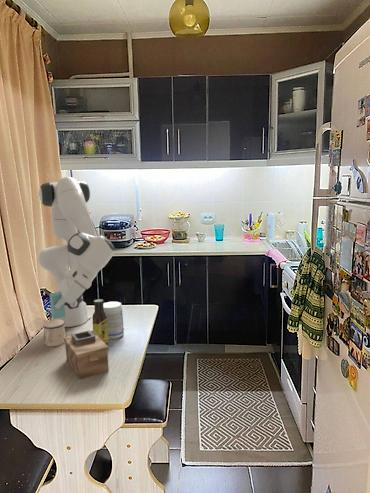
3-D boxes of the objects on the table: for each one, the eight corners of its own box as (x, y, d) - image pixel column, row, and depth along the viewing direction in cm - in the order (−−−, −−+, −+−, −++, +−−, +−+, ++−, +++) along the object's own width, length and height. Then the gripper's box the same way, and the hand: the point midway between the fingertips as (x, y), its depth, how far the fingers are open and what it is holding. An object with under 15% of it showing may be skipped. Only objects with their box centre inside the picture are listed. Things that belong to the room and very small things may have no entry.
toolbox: (65, 359, 165) (62, 332, 163) (94, 352, 171) (92, 326, 169) (79, 380, 149) (76, 350, 146) (110, 371, 154) (108, 342, 152)
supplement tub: (127, 335, 187) (125, 304, 184) (109, 341, 181) (107, 309, 179) (117, 329, 195) (115, 299, 192) (98, 335, 189) (96, 304, 186)
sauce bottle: (105, 348, 174) (102, 303, 171) (91, 347, 176) (88, 303, 172) (111, 342, 181) (108, 298, 177) (97, 341, 182) (94, 298, 178)
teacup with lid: (50, 338, 187) (47, 313, 185) (69, 338, 186) (67, 313, 184) (38, 349, 176) (35, 323, 173) (58, 350, 174) (56, 323, 172)
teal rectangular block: (51, 316, 151) (49, 293, 149) (62, 313, 153) (60, 291, 151) (54, 319, 147) (52, 296, 146) (65, 316, 149) (63, 294, 148)
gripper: (71, 264, 159) (47, 292, 157) (77, 276, 140) (49, 308, 139) (83, 274, 161) (60, 301, 160) (91, 287, 143) (64, 318, 141)
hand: (55, 304), depth 149 cm, fingers closed on teal rectangular block, 4 cm apart
